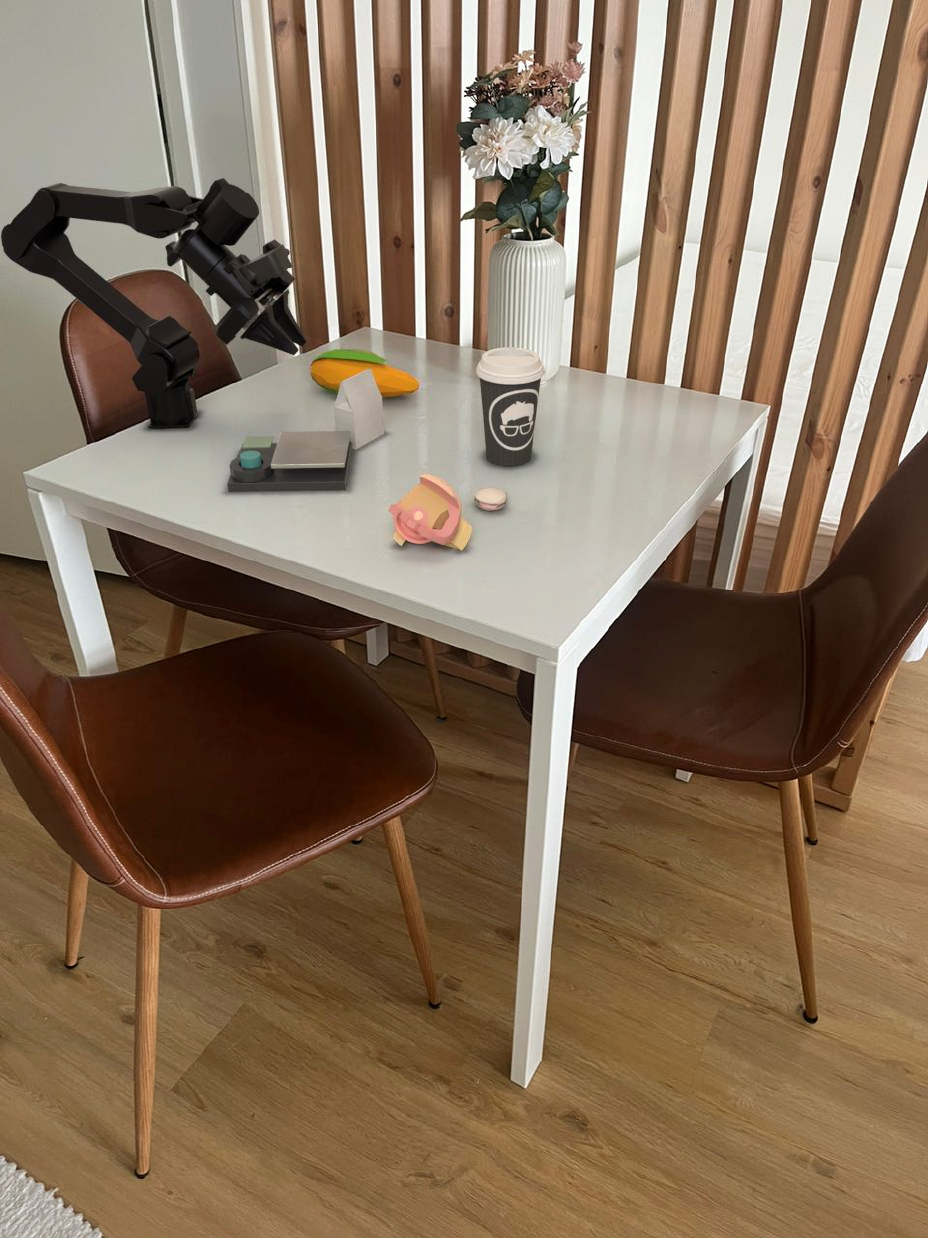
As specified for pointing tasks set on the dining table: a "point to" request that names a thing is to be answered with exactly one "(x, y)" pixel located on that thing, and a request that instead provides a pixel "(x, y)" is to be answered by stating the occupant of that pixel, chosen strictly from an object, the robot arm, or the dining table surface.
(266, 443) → the scale display
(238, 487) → the scale
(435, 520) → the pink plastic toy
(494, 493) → the macaroon
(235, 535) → the dining table surface
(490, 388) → the coffee cup
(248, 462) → the button
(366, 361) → the corn
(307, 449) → the scale pan
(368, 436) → the tea bag
